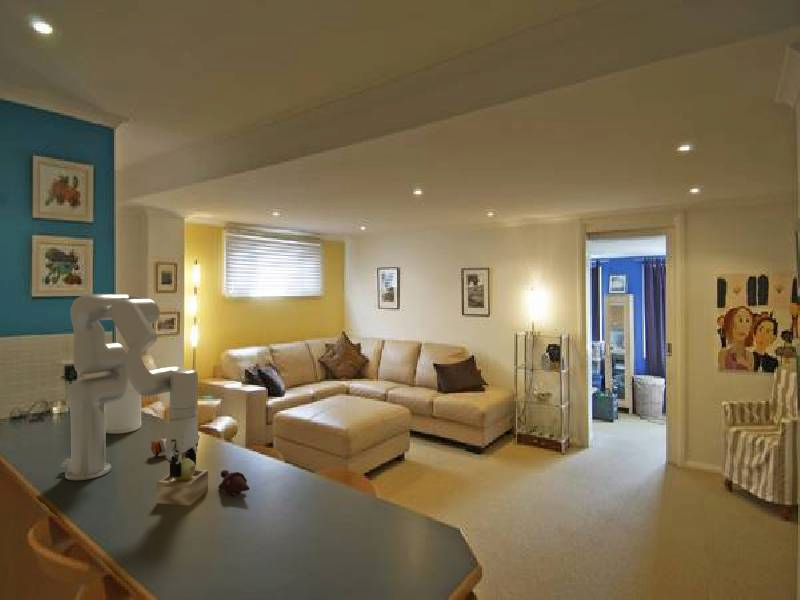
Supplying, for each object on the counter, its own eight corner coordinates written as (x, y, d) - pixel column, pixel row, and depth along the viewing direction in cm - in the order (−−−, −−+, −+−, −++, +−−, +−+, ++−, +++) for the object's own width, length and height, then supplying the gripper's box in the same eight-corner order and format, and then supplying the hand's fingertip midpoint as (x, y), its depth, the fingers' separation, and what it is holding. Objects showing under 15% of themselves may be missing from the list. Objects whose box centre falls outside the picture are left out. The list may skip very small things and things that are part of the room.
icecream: (261, 475, 137) (233, 467, 146) (240, 476, 131) (212, 468, 140) (257, 500, 135) (229, 490, 144) (235, 502, 130) (207, 492, 139)
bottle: (128, 434, 191) (129, 367, 190) (96, 433, 191) (96, 367, 191) (147, 424, 205) (148, 362, 204) (117, 424, 205) (117, 361, 205)
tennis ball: (189, 460, 133) (196, 452, 140) (165, 465, 132) (173, 457, 139) (193, 481, 133) (199, 473, 140) (169, 486, 132) (176, 477, 139)
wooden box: (157, 503, 131) (157, 481, 131) (177, 488, 141) (177, 468, 141) (190, 505, 131) (190, 483, 130) (208, 490, 141) (208, 470, 140)
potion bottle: (197, 450, 178) (158, 466, 166) (185, 432, 182) (146, 447, 170) (203, 435, 174) (163, 450, 162) (190, 416, 178) (151, 430, 166)
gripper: (187, 404, 144) (187, 459, 145) (153, 419, 127) (152, 482, 128) (210, 405, 144) (210, 460, 144) (179, 420, 126) (178, 484, 127)
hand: (183, 470), depth 136 cm, fingers open, 7 cm apart
